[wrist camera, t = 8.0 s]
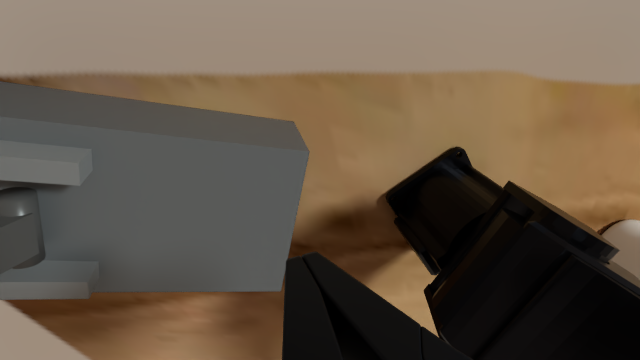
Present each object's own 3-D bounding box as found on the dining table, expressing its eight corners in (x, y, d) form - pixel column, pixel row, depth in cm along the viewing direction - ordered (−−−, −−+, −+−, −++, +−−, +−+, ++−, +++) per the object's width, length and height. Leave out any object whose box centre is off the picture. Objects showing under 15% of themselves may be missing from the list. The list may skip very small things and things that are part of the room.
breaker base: (293, 121, 22) (315, 163, 16) (272, 241, 25) (284, 310, 20) (-15, 79, 17) (-134, 117, 12) (12, 232, 21) (-68, 317, 15)
